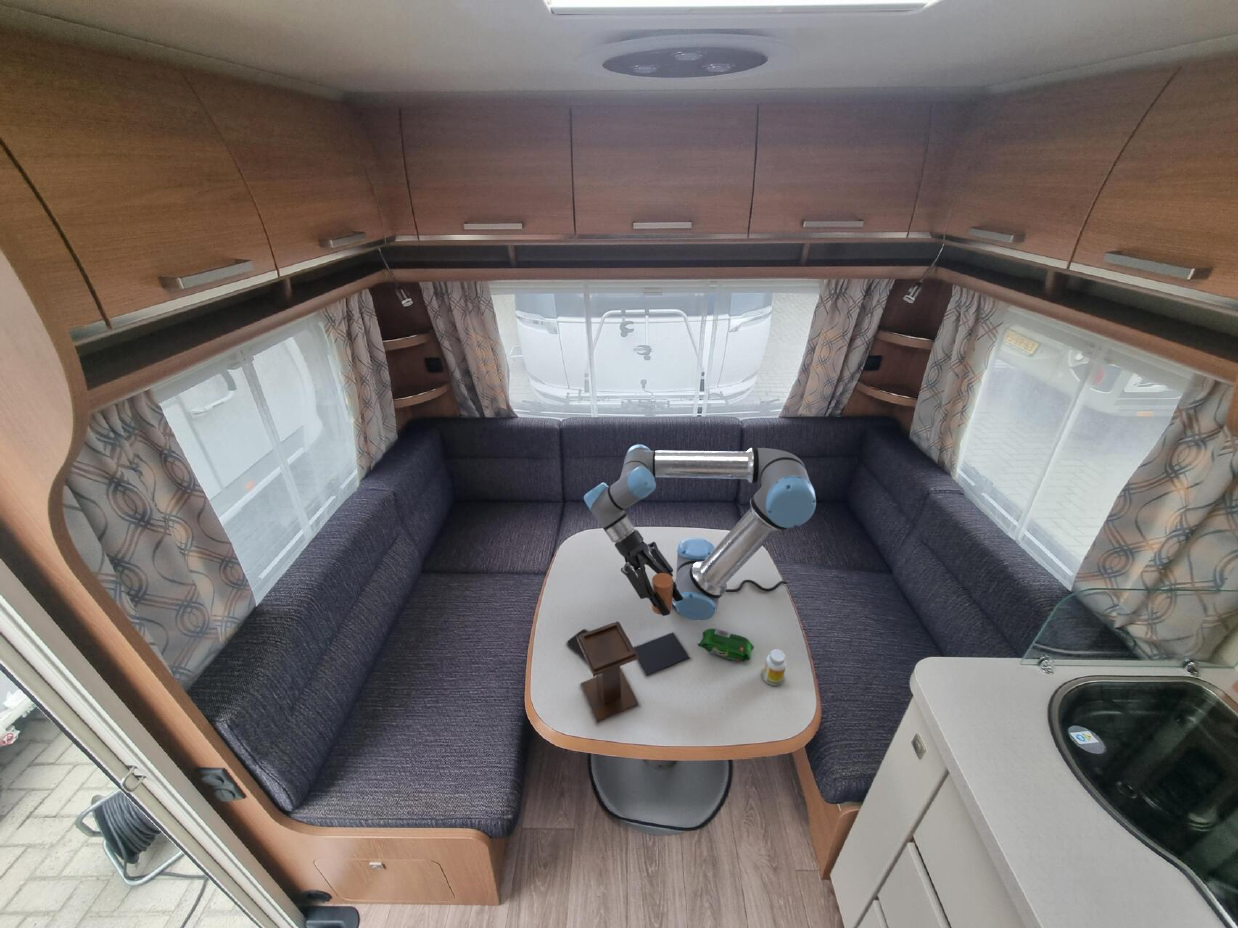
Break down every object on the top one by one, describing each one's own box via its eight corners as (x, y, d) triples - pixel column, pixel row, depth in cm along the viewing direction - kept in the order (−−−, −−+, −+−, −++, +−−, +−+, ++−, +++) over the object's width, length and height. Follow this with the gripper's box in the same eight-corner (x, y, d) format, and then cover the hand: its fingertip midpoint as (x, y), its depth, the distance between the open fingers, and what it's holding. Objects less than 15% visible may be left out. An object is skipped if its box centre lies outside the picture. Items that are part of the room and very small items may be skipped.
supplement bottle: (758, 673, 138) (763, 651, 133) (773, 666, 140) (778, 644, 135) (771, 689, 134) (776, 666, 129) (786, 681, 136) (792, 658, 131)
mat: (672, 633, 151) (673, 632, 151) (689, 658, 143) (689, 657, 143) (631, 649, 146) (631, 647, 146) (646, 676, 138) (646, 674, 138)
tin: (665, 596, 138) (667, 570, 133) (675, 610, 133) (677, 583, 128) (648, 602, 136) (648, 576, 131) (657, 617, 131) (658, 590, 126)
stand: (620, 669, 140) (618, 618, 129) (638, 705, 131) (638, 653, 120) (581, 685, 136) (576, 634, 125) (596, 723, 127) (593, 671, 116)
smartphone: (565, 644, 148) (601, 676, 138) (565, 642, 148) (601, 674, 138) (584, 629, 153) (621, 659, 143) (584, 627, 152) (621, 657, 143)
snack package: (701, 634, 150) (702, 622, 148) (753, 648, 145) (755, 637, 143) (696, 652, 145) (697, 640, 142) (750, 668, 140) (752, 656, 137)
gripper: (637, 523, 141) (682, 589, 140) (595, 557, 128) (645, 631, 128) (652, 515, 135) (700, 584, 135) (610, 550, 123) (662, 627, 122)
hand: (673, 606), depth 131 cm, fingers closed on tin, 6 cm apart
